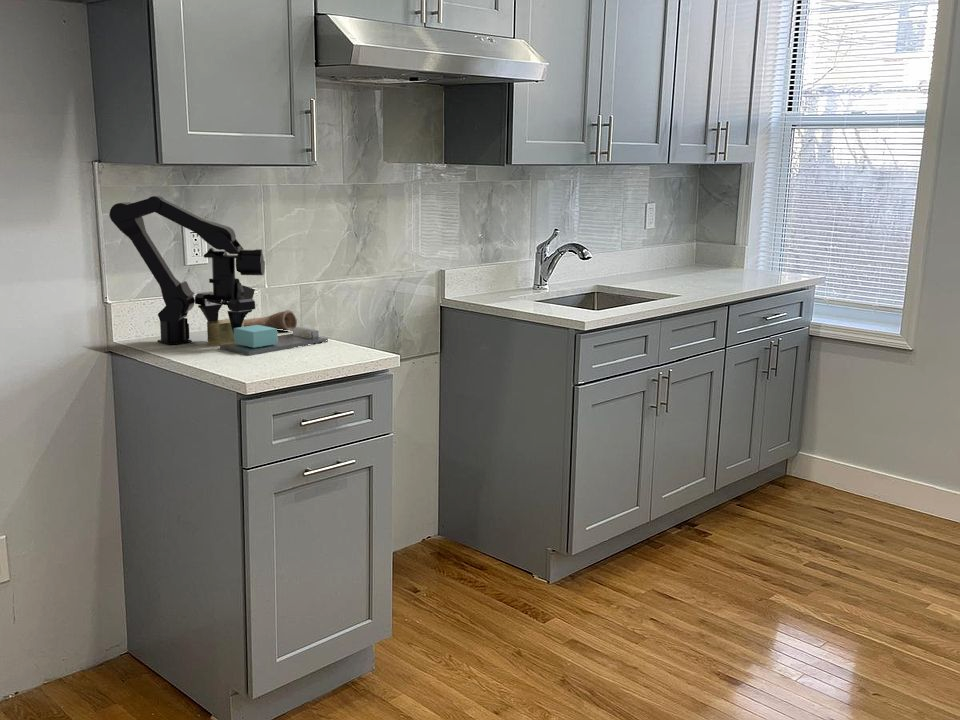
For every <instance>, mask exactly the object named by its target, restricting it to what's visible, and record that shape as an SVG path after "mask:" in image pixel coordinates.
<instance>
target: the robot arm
mask: <svg viewBox="0 0 960 720" xmlns="http://www.w3.org/2000/svg"><path fill="white" fill-rule="evenodd" d="M153 213H156V214H158V215H159V216H162V217H164V218H165V219H168V220H169V221H172V222H173V223H175V224H177V225H180V226H181V227H183V228H185V229H187V230H189V231H192V232H193V233H195V234H196V235H198V236H199V237H200V238H201V239H202V240H203V241H204V242H205V243H207V244H208V245H210V246H211V247H210V248H209V249H208V251H206V253H205V254H204V255H203V258H205V259H206V258H209V259H211V268H212V269H211V270H212V278H208V283H209V284H210V283H211V284H212V291H207V292H198V293H196V294H195V292H194V291H193V290H191V288H190V286H189V284H188V282H187V281H186V280H184V281H182V282H180V281H179V280H178V279H177V277H175V276H174V273H173V272H172V270H171V269H170V268H169V266H168V264H167V263H166V261H165V259H164V258H163V256H162V254H161V253H160V251H159V250H158V248H157V247H156V245H155V243H154V242H153V240H152V238H151V236H150V235H149V234H148V232H147V230H146V225H145V221H144V218H143V217H145V216H147V215H150V214H153ZM108 216H109V218H110V221H111V222H112V224H114V225H115V226H116V227H117V229H118V230H119V231H120V232H121V233H123V234H124V235H125V236H126V237H127V238H128V239H129V240H130V241H131V242H132V244H133V246H134V247H135V248H136V250H137V252H138V254H139V255H140V257H141V259H142V260H143V261H144V264H145V265H146V266H147V268H148V269H149V271H150V272H151V274H152V277H154V279H155V280H156V282H157V284H158V286H159V287H160V290H161V291H160V292H161V295H162V300H163V301H164V304H165V306H164V307H163V308H162V309H161V310H160V311H159V312H158V313H157V316H158V319H159V326H160V327H159V328H160V339H157V343H161V344H165V345H169V346H170V345H171V346H173V345H180V344H186V343H192V342H193V340H192V339H190V324H189V323H188V318H186V317H188V313H189V311H191V310H192V309H193V308H194V306H195V305H197V307H198V308H199V309H200V311H201V312H202V314H203V316H204V317H205V319H206V320H207V322H209V321H217V320H219V313H220V312H219V311H220V309H221V308H222V307H223V305H224V306H227V308H228V310H227V316H228V319H230V323H231V327H232V330H233V333H234V328H238V327H241V326H242V323H243V320H245V318H246V316H247V315H248V314H249V313H251V312H253V310H256V301H255V300H254V296H255V291H256V289H255V288H253V287H252V288H251V287H249V286H246V285H243V284H242V283H241V282H240V279H239V278H236V272H238V273H240V275H241V276H264V274H265V268H266V267H265V265H266V263H265V260H264V259H265V257H264V255H263V249H260V248H258V249H256V248H255V249H244V247H243V246H242V245H241V244H240V242H239V241H238V240H237V238H236V233H235V230H234V229H233V228H231V227H230V226H228V225H224V224H221V223H219V222H214V221H212V220H207V219H204V218H202V217H200V216H198V215H197V214H196V215H195V214H194V213H192V212H190V211H188V210H187V209H184V208H182V207H181V206H178V205H176V204H174V203H173V202H171V201H169V200H166V199H165V198H164V197H162V196H160V195H152V196H149V197H148V198H145V199H142V200H139V201H136V202H130V201H126V202H119V203H115V204H114V205H112V207H110V209H109V214H108ZM215 249H216V250H215ZM194 295H195V296H194Z"/></svg>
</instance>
